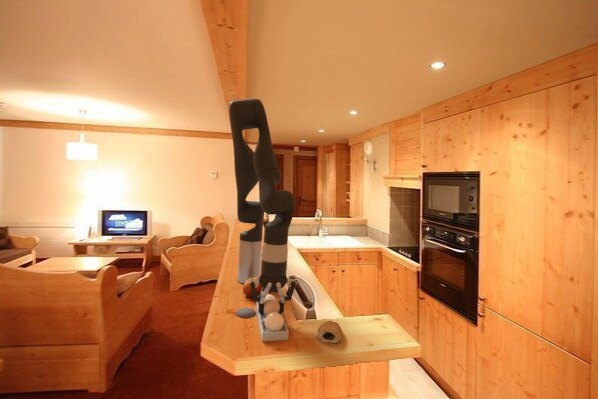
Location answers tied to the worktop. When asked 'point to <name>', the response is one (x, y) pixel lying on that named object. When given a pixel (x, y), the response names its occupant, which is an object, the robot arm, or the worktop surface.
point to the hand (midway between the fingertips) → (271, 313)
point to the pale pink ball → (271, 306)
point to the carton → (267, 334)
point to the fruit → (247, 288)
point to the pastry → (329, 332)
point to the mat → (245, 312)
